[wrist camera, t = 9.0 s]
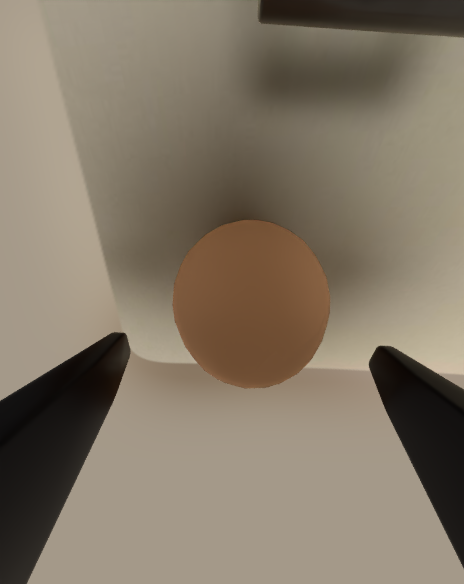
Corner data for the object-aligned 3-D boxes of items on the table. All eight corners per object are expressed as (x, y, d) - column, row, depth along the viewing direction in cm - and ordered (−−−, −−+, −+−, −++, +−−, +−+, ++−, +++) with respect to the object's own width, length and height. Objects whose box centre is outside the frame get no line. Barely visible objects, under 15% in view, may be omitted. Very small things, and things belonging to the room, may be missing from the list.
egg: (182, 210, 12) (104, 269, 5) (309, 204, 12) (420, 259, 5) (197, 312, 16) (165, 433, 9) (295, 309, 16) (346, 432, 9)
